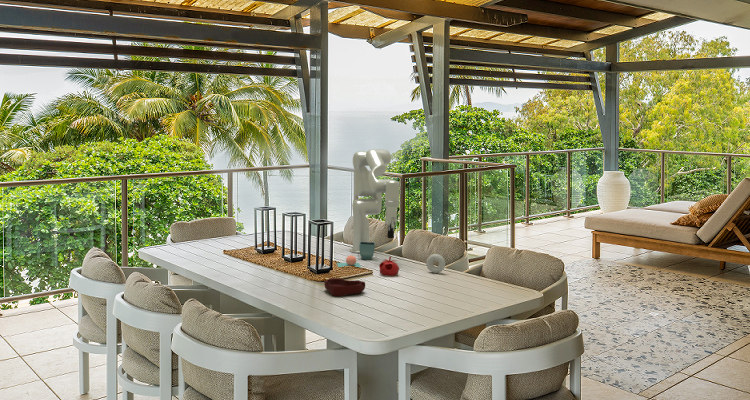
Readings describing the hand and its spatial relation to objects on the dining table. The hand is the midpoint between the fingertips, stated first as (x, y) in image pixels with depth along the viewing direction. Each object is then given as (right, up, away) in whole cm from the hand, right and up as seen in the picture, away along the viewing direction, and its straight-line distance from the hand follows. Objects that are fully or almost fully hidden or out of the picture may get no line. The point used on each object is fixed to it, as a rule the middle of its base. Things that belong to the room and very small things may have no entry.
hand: (390, 237), depth 355 cm
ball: (-21, -12, -2) cm, 24 cm away
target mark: (-22, -15, -1) cm, 27 cm away
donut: (+23, -18, -13) cm, 32 cm away
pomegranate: (-1, -18, -22) cm, 28 cm away
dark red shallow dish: (-23, -21, -63) cm, 71 cm away
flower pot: (-13, -13, +19) cm, 26 cm away
